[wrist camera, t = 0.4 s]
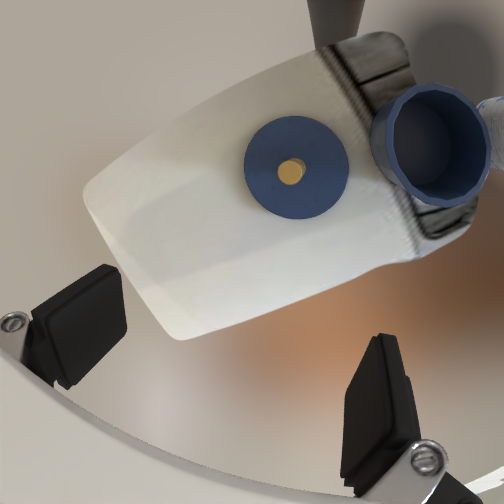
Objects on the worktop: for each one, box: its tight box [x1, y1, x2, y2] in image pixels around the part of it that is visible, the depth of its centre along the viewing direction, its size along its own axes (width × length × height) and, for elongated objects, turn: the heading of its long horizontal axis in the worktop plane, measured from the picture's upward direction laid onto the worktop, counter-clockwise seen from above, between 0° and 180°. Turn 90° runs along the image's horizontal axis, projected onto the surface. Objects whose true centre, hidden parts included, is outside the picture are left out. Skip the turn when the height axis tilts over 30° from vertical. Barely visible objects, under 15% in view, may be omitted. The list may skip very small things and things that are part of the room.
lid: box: [244, 116, 349, 219], centre depth 30 cm, size 12×12×7 cm
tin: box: [370, 83, 492, 208], centre depth 24 cm, size 11×11×10 cm
